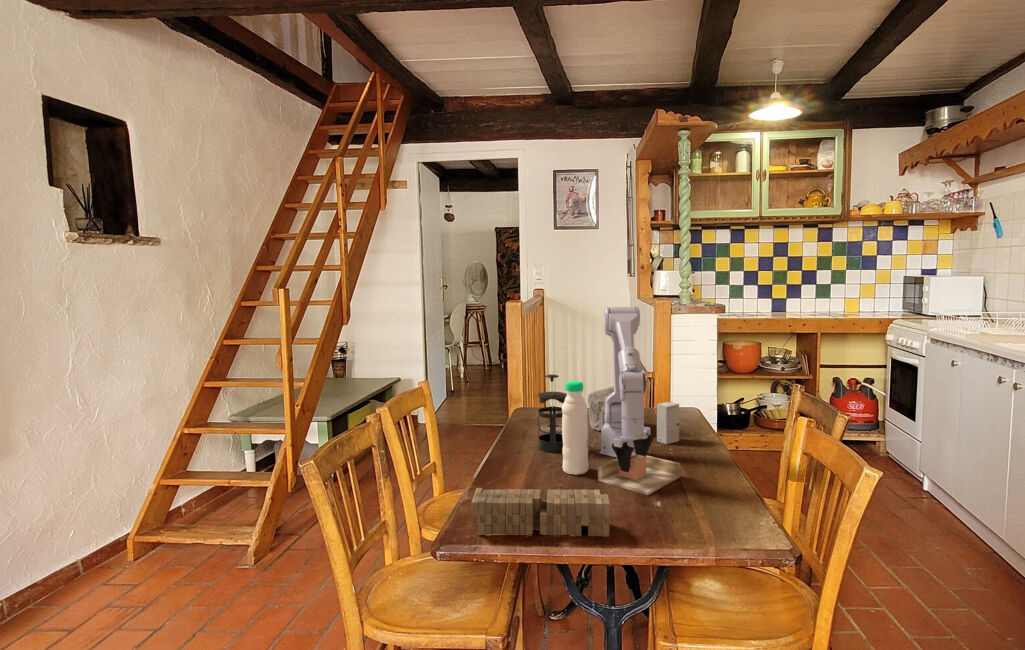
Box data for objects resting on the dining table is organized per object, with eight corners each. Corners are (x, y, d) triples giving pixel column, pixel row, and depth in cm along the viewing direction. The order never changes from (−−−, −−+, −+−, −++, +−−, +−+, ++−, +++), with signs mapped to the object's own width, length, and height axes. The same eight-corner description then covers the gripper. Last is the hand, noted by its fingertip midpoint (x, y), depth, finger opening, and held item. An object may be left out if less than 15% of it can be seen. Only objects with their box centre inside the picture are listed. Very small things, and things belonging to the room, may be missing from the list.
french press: (568, 453, 180) (567, 378, 178) (537, 453, 181) (536, 378, 178) (567, 441, 192) (566, 370, 189) (538, 441, 193) (536, 371, 190)
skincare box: (666, 444, 186) (666, 406, 185) (655, 441, 190) (656, 403, 189) (680, 441, 190) (680, 403, 189) (669, 437, 194) (669, 401, 192)
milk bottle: (591, 468, 167) (590, 380, 164) (583, 477, 161) (582, 385, 158) (567, 465, 170) (566, 378, 167) (559, 473, 164) (557, 383, 161)
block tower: (605, 526, 134) (476, 520, 136) (606, 489, 133) (476, 485, 135) (609, 542, 126) (471, 536, 128) (610, 503, 125) (471, 498, 127)
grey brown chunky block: (581, 423, 212) (580, 382, 211) (625, 418, 217) (625, 378, 216) (605, 438, 194) (604, 393, 193) (652, 432, 200) (652, 388, 198)
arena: (598, 480, 158) (597, 466, 157) (631, 464, 169) (631, 451, 169) (648, 495, 148) (648, 480, 147) (679, 477, 159) (680, 463, 159)
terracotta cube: (636, 480, 154) (636, 461, 154) (619, 476, 158) (619, 457, 157) (646, 475, 158) (646, 456, 157) (630, 470, 161) (630, 452, 161)
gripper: (630, 425, 148) (630, 478, 150) (660, 413, 159) (660, 463, 160) (606, 420, 153) (607, 472, 155) (637, 409, 163) (637, 457, 165)
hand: (632, 467), depth 158 cm, fingers open, 7 cm apart
